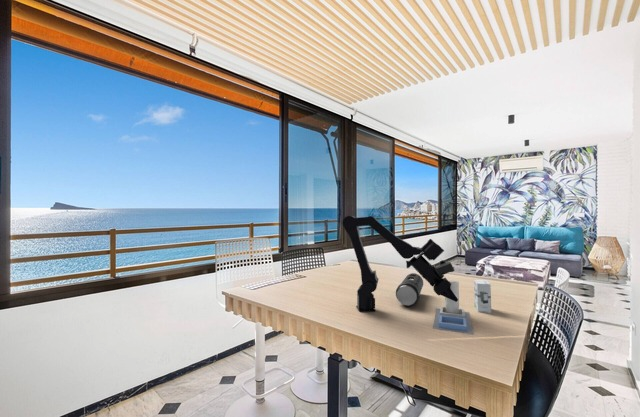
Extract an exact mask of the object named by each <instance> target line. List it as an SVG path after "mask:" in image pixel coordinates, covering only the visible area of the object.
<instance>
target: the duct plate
mask: <svg viewBox="0 0 640 417" xmlns="http://www.w3.org/2000/svg"><path fill="white" fill-rule="evenodd" d="M472 325H473V324H472V320H471V316H470V312H469V311H465V308H459V314H452V313H445V306H440V308H437V307H436V308H435V314H434V319H433V325H432V329H434V330H439V331H440V330H441V331H446V332H452V333H461V334H467V335H468V334H469V335H474V330H473V326H472Z"/></svg>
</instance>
